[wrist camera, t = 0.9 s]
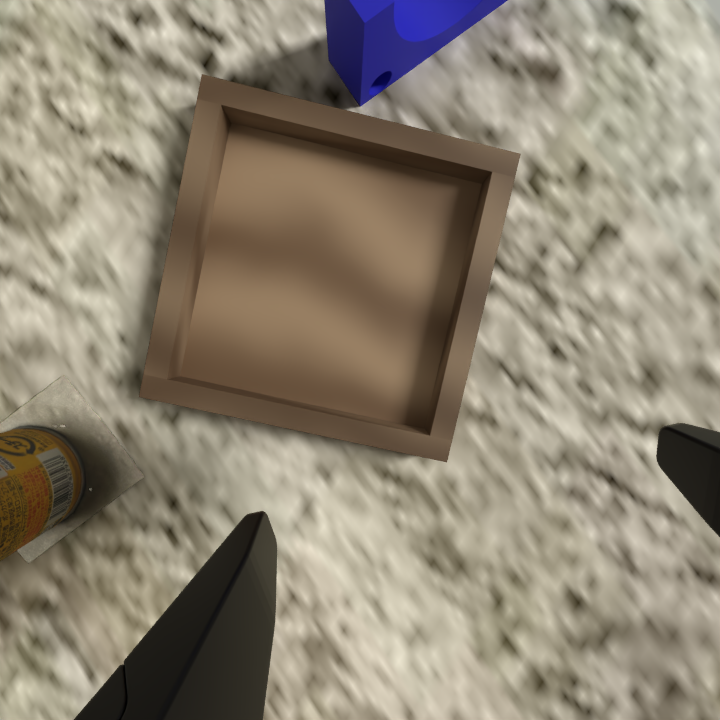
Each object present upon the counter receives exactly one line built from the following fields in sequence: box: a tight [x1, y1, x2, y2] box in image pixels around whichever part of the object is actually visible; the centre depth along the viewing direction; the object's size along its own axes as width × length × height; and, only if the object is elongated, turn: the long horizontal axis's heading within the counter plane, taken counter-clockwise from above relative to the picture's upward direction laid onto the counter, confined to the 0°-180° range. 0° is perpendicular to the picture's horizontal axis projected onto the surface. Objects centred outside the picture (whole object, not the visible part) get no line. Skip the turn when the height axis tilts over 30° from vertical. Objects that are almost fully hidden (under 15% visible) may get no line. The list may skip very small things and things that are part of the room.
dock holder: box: [139, 74, 520, 462], centre depth 21 cm, size 16×16×2 cm
